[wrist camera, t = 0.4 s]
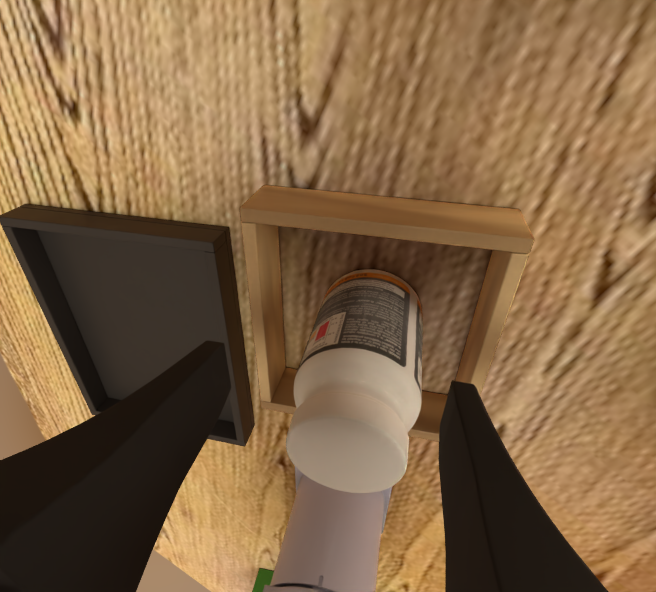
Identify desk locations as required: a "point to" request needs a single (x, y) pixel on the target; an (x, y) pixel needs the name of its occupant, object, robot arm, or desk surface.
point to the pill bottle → (359, 384)
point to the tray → (133, 300)
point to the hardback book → (262, 580)
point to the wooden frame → (388, 222)
